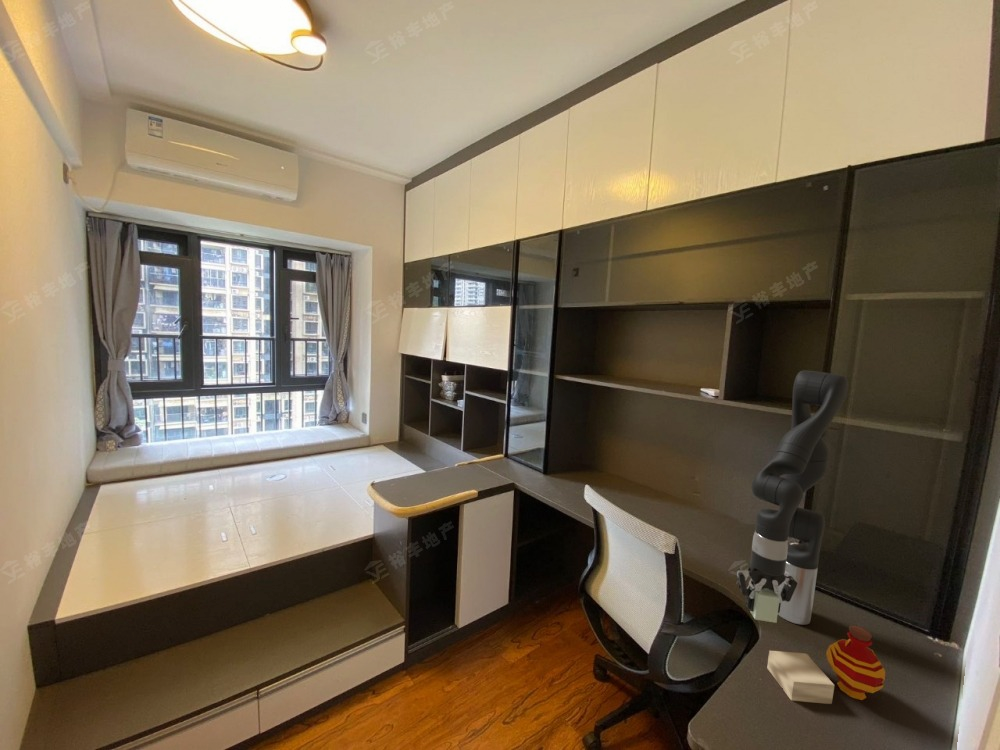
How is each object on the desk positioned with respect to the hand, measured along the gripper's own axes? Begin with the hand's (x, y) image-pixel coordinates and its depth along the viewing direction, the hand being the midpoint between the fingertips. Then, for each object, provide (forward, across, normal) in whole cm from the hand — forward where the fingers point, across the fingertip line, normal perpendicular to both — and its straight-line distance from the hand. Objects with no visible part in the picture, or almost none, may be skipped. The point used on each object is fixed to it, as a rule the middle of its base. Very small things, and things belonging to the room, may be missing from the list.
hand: (761, 610), depth 105 cm
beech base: (+11, -5, +10) cm, 16 cm away
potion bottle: (+11, -17, +8) cm, 22 cm away
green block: (+1, 0, 0) cm, 1 cm away
